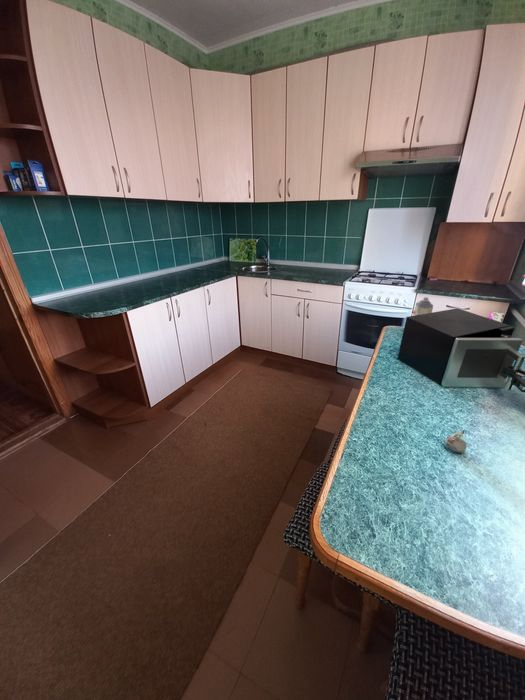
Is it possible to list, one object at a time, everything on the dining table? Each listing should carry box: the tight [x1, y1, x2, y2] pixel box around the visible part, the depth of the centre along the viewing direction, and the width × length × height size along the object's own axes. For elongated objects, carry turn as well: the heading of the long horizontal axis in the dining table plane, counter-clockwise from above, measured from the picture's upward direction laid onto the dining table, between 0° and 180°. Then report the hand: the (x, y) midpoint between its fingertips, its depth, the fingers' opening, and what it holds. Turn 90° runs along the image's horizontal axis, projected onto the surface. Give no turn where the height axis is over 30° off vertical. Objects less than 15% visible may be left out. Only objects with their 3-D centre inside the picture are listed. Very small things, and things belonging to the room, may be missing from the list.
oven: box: [397, 308, 516, 385], centre depth 107 cm, size 22×26×18 cm
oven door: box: [440, 337, 525, 391], centre depth 92 cm, size 8×20×18 cm, turn 87°
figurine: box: [444, 429, 468, 454], centre depth 73 cm, size 5×4×6 cm
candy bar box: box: [486, 311, 506, 323], centre depth 116 cm, size 11×5×16 cm, turn 137°
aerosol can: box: [412, 296, 434, 316], centre depth 128 cm, size 7×7×20 cm
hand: (505, 368), depth 92 cm, fingers closed on oven door, 2 cm apart
